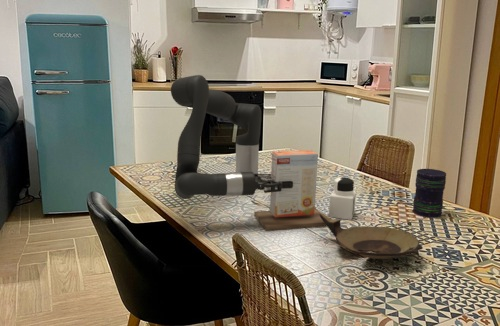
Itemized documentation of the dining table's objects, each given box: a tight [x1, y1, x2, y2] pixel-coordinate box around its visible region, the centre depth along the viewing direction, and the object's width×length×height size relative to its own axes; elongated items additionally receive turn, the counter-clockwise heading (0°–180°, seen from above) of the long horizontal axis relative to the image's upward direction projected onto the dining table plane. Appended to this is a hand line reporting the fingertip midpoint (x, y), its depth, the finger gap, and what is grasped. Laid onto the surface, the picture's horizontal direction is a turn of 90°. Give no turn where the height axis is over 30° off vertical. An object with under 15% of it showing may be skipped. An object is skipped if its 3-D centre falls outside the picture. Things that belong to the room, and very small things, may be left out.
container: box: [328, 176, 357, 221], centre depth 171 cm, size 8×8×13 cm
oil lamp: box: [320, 212, 423, 260], centre depth 144 cm, size 22×30×8 cm
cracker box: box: [269, 149, 319, 217], centre depth 163 cm, size 14×6×21 cm, turn 105°
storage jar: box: [412, 168, 447, 219], centre depth 175 cm, size 10×10×15 cm
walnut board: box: [253, 207, 327, 232], centre depth 166 cm, size 14×22×2 cm, turn 105°
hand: (289, 181), depth 162 cm, fingers closed on cracker box, 5 cm apart
